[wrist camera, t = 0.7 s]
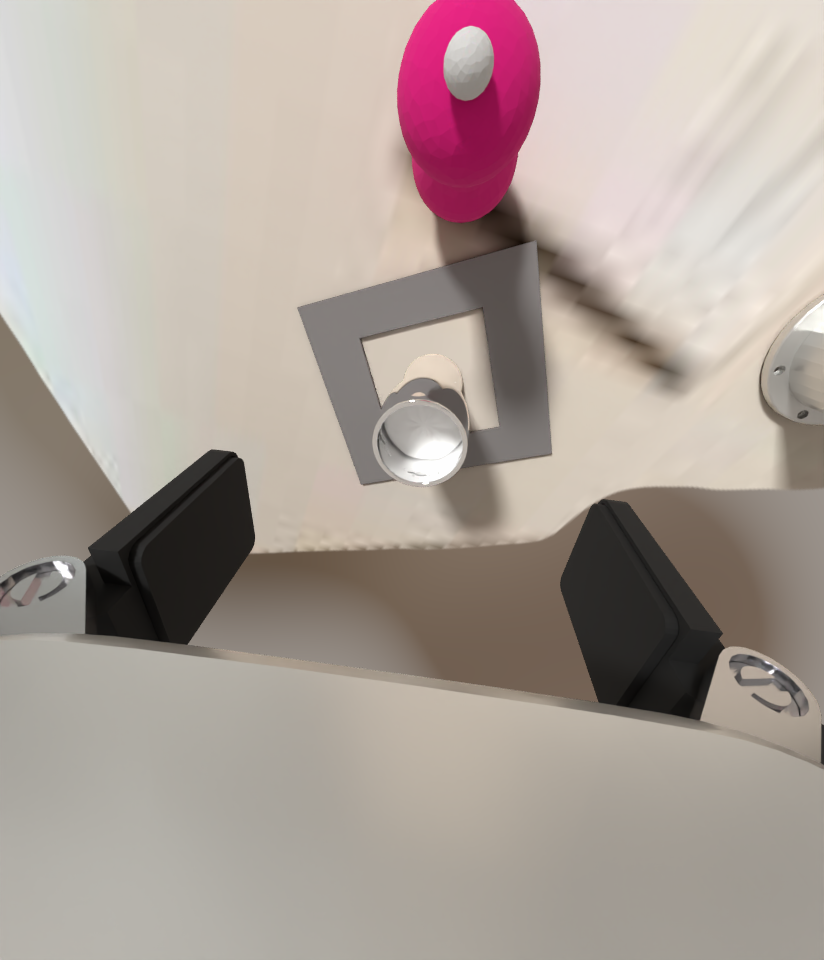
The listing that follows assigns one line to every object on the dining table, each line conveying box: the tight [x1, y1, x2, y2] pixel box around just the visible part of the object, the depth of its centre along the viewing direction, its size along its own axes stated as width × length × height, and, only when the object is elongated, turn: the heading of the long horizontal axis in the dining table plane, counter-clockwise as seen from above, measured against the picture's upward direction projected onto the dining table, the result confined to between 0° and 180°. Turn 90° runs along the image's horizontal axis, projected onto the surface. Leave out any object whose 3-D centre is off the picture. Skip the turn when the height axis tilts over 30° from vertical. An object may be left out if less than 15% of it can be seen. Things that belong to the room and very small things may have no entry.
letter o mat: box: [298, 241, 552, 484], centre depth 38 cm, size 22×20×1 cm
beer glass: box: [372, 354, 469, 487], centre depth 32 cm, size 7×7×15 cm
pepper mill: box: [397, 0, 540, 223], centre depth 21 cm, size 7×7×20 cm
